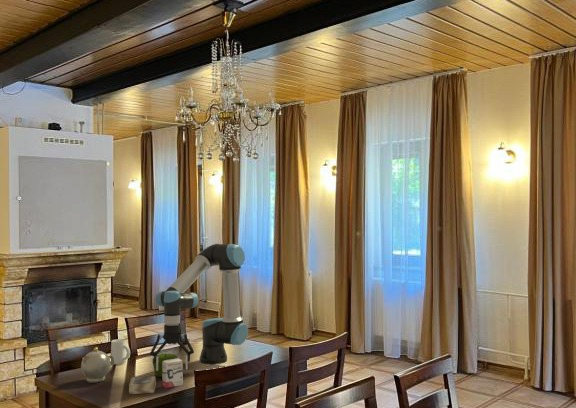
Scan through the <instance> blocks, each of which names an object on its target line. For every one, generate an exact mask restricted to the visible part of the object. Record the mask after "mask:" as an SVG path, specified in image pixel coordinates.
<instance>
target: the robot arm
mask: <svg viewBox="0 0 576 408" xmlns="http://www.w3.org/2000/svg"><path fill="white" fill-rule="evenodd" d="M245 260H246V255H245V251H244V250H243V248H242V247H241V246H240V245H239V244H234V243H226V244H225V243H214V244H211V245H209V246H207V247H205V248H204V249H202V251H200V252H199V253H198V254H197V255H196V256H195V258H194V261H193V262H192V263H191V264H190V265H189V266H188V267H187V268H186V269H185V270H184V271H183V272H182V273H181V275H179V276H178V277H177V278H176V279H175V281H174V282H173V283H172V284H170V286H169V287H168V288H166V290H163V291H162V290H160V291H159V292H157V293H156V295H155V298H154V299H155V300H154V301H155V303H156V304H157V306H160V307H163V312H164V313H163V314H164V315H163V324H164V325H163V334H157V337H156V340H155V343H154V345H153V346H152V348H151V350H150V353H149V355H150V356H153V358H154V363H156V371H158V355H159V354H160V352H161V351H162V350H163V348H165V346H167V344H168V345H176V344H178V346H179V347H180V348H181V349H182V350H183V351H184V352H185V353H186V354H185V370H188V363H190V361H191V355H192V354H194V353H195V351H194V349H193V346H192V345H191V342H190V341H189V339H188V334H187V333H182V334H181V310H188V309H189V310H190V309H193V308H196V307H197V306H198V305H199V301H200V300H199V296H198V294H197V293H196V292H186V291H188V289H190V287H191V286H192V285H193V284H194V283H195V282H196V281H197V279H199V277H200V276H202V275H203V273H204V272H205V271H208V270H209V269H211V268H212V267H214V266H218V267H219V268H218V269H219V271H220V272H221V273H222V274H221V276H222V295H223V296H222V298H223V317H214V318H208V319H205V320H203V321H202V349H201V352H200V355H199V363H201V364H206V365H207V364H208V365H217V364H223V363H225V362H227V361H228V354H227V351H226V348H225V345H232V346H240V345H242V344H244V343H245V342H246V339H247V337H248V336H249V335H248V334H249V327H248V325H247V324H246V323H244V317H243V316H241V307H240V304H241V303H240V301H241V300H240V288H239V287H240V284H239V283H240V281H239V271H240V270H241V269H242V266H243V265H244V263H245ZM181 338H182V339H183V340H184V341H185V343H186V345H187V347H188V348H187V347H186V346H185V345H184V343H182V342H181V340H180V339H181ZM162 339H163V340H164V341H163V342H162V344H161V345H160V346H159V347H158V349H156V348H157V346H158V344H159V342H160V340H161V341H162Z"/></svg>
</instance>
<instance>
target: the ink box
mask: <svg viewBox="0 0 576 408" xmlns="http://www.w3.org/2000/svg"><path fill="white" fill-rule="evenodd" d="M183 362H184V361H183V359H180V358H179V357H177V359H170V360H165V361H162V387H164V388H165V389H168V388H175V387H180V386H183V384H184V383H183V381H184V379H183V378H184V377H183V375H184V374H183V373H184V372H183V371H184V367H183V364H184V363H183Z"/></svg>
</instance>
